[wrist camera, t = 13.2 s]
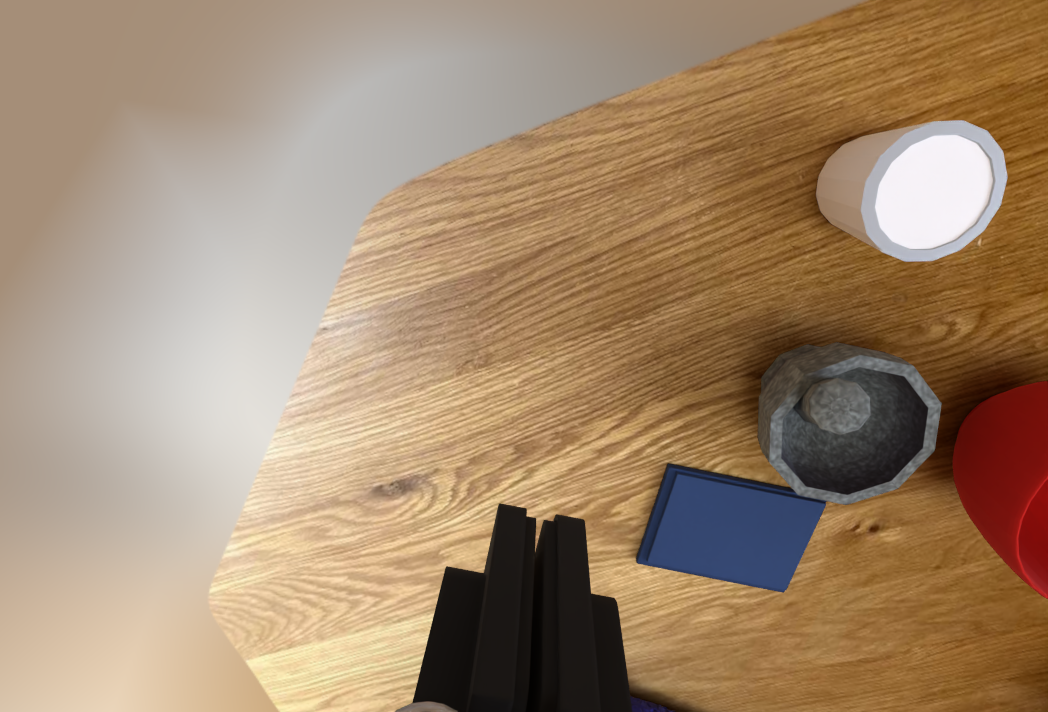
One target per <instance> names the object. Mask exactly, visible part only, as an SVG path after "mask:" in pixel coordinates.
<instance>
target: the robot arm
mask: <svg viewBox="0 0 1048 712" xmlns="http://www.w3.org/2000/svg"><path fill="white" fill-rule="evenodd" d="M526 514H527V509H526V508H521V507H516V506H510V505H505V504H500V503H499V506H498V510H497V515H496V519H495V524H494V528H493V533H492V538H491V542H490V547H489V552H488V556H487V561H486V566H485V570H484V573H479V572H474V571H468V570H463V569H458V568H452V567H447V566H446V569H445V573H444V577H443V581H442V585H441V589H440V593H439V597H438V601H437V605H436V609H435V613H434V618H433V622H432V626H431V630H430V634H429V638H428V642H427V646H426V650H425V654H424V658H423V662H422V666H421V670H420V674H419V679H418V683H417V687H416V691H415V695H414V699H413V703H411V704H409V705H407V706H405V707H402V708H400V709H398V710H396V711H395V712H632V705H631V698H630V690H629V683H628V676H627V669H626V662H625V654H624V647H623V640H622V633H621V626H620V618H619V611H618V606H617V602H616V600H615V598H612V597H606V596H601V595H596V594H591V589H590V577H589V565H588V553H587V541H586V529H585V521H584V520H583V519H578V518H573V517H568V516H563V515H557V514H556V515H555V518H554V521H548V520H544V522H543V525H542V528H541V532H540V536H539V540H538V544H537V548H536V552H535V537H536V518H532V517H527V516H526Z"/></svg>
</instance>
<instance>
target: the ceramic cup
mask: <svg viewBox="0 0 1048 712" xmlns="http://www.w3.org/2000/svg"><path fill="white" fill-rule="evenodd" d="M952 464H953V475H954V482H955V485H956V488H957V491H958V494H959V497H960V499H961V502H962V504H963V506H964V508H965V510H966V512H967V514H968V515H969V517H970V518H971V520H972V521H973V523H974V524H975V526H976V527H977V528H978V530H979V531H980V533H981V534H982V535H983V537H984V538H985V539H986V541H987V542H988V543H989V544H990V546H991V547H992V548H993V549H994V550H995V551H996V553H997V554H998V555H999V556H1000V557H1001V558H1002V559H1003V560H1004V562H1005V563H1006V564H1007V565H1008V566H1009V567H1010V568H1011V569H1012V570H1013V571H1014V572H1015V573H1016V574H1017V575H1018V576H1019V577H1020V578H1021V579H1022V580H1023V581H1024V582H1026V583H1027V584H1028V585H1029V586H1030V587H1032V588H1033V589H1034V590H1035V591H1036V592H1038V593H1039V594H1040V595H1041V596H1043V597H1045V598H1047V599H1048V381H1041V382H1036V383H1032V384H1028V385H1024V386H1020V387H1016V388H1013V389H1011V390H1009V391H1006V392H1003V393H1000V394H997V395H995V396H992V397H990V398H988V399H987V400H985V401H983V402H982V403H980V404H979V405H978V406H976V407H975V408H974V409H973V410H972V411H971V412H970V413H969V414H968V415H967V416H966V418H965V420H964V421H963V423H962V424H961V427H960V429H959V432H958V436H957V440H956V443H955V447H954V453H953V462H952Z"/></svg>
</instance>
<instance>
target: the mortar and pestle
mask: <svg viewBox="0 0 1048 712" xmlns="http://www.w3.org/2000/svg"><path fill="white" fill-rule="evenodd" d="M941 405H942V403H941V402H940V401H939V399H938V398H937V397H936V395H935V394H934V393H933V391H932V390H931V389H930V387H929V386H928V385H927V383H926V382H925V381H924V379H923V378H922V377H921V375H920V374H919V373H918V371H917V370H916V369H915V367H914V366H913V365H911V364H909V363H908V362H906V361H905V360H903V359H901V358H900V357H897V356H894V355H891V354H888V353H885V352H881V351H876V350H871V349H867V348H862V347H857V346H852V345H848V344H843V343H838V342H835V343H832V344H829V345H826V346H823V347H818V346H813V345H809V344H807V345H804V346H802V347H799V348H796V349H794V350H791V351H788V352H786V353H783V354H780V355H779V356H778V357H777V358H776V360H775V361H774V362H773V363H772V365H771V366H770V367H769V368H768V370H767V371H766V372H765V373H764V375H763V376H762V377H761V394H760V396H759V408H758V440H759V444H760V447H761V450H762V452H763V453H764V455H765V457H766V458H767V460H768V461H769V462H770V464H771V465H772V466H773V467H774V468H775V469H776V470H777V472H778V473H779V474H780V475H781V476H782V477H783V478H784V480H785V481H786V482H787V483H788V484H789V485H790V486H791V488H792V489H793V490H794V491H795V492H796V493H797V494H798V495H800V496H805V497H810V498H815V499H820V500H825V501H829V502H834V503H839V504H844V505H848V504H851V503H854V502H857V501H860V500H864V499H867V498H870V497H873V496H876V495H879V494H883V493H886V492H889V491H892V490H895V489H898V488H899V487H900V486H901V485H902V484H903V483H904V482H905V481H906V480H907V479H908V478H909V477H910V476H911V475H912V474H913V472H914V471H915V470H916V469H917V468H918V467H919V466H920V465H921V464H922V463H923V462H924V461H925V460H926V459H927V458H928V457H929V456H930V455H931V454H932V453H933V452H934V451H935V445H936V438H937V432H938V425H939V418H940V412H941Z"/></svg>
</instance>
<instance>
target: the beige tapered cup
mask: <svg viewBox="0 0 1048 712" xmlns="http://www.w3.org/2000/svg"><path fill="white" fill-rule="evenodd" d="M1006 181H1007V172H1006V166H1005V160H1004V154H1003V151H1002V149H1001V148H1000V147H999V145H998V144H997V143H996V142H995V140H994V139H993V138H992V136H991V135H990V134H989V133H988V131H986V130H984V129H982V128H979V127H977V126H975V125H972V124H970V123H968V122H965V121H963V120H962V121H935V122H929V123H924V124H919V125H914V126H910V127H905V128H900V129H895V130H890V131H885V132H881V133H876V134H871V135H866V136H862V137H859V138H857V139H855V140H852V141H850V142H848V143H846V144H843V145H842V146H841V147H840V148H839V149H838V150H837V151H836V152H835V153H834V154H832V155H831V156H830V157H829V158H828V160H827V161H826V163H825V165H824V167H823V169H822V171H821V172H820V174H819V176H818V183H817V190H816V198H817V201H818V205H819V209H820V212H821V213H822V214H823V215H824V216H825V217H826V219H827V220H828V221H829V222H830V223H831V224H832V225H834V226H836V227H838V228H839V229H841V230H843V231H845V232H847V233H849V234H850V235H852V236H854V237H856V238H858V239H859V240H861V241H863V242H865V243H867V244H868V245H870V246H872V247H874V248H876V249H878V250H879V251H881V252H883V253H886V254H888V255H891V256H893V257H896V258H898V259H900V260H903V261H933V260H936V259H938V258H941V257H944V256H946V255H949V254H951V253H954V252H957V251H959V250H961V249H962V248H963V247H964V246H966V245H967V244H968V243H969V242H971V241H972V240H973V239H974V238H976V237H977V236H978V235H979V234H981V233H982V232H983V231H984V230H985V228H986V227H987V225H988V224H989V222H990V221H991V219H992V218H993V216H994V215H995V213H996V212H997V210H998V209H999V207H1000V205H1001V201H1002V197H1003V193H1004V189H1005V185H1006Z"/></svg>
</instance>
